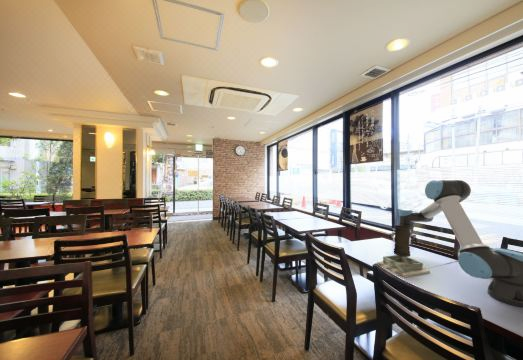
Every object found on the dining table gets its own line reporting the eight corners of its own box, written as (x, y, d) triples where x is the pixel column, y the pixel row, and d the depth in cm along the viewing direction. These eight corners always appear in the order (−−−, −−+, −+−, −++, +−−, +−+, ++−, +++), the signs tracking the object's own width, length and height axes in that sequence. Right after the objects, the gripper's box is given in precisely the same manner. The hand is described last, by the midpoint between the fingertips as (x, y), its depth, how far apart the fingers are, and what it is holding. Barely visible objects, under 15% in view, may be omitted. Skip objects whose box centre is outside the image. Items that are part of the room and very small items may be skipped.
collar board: (429, 272, 129) (429, 264, 129) (404, 277, 123) (404, 268, 123) (399, 260, 148) (400, 252, 148) (377, 263, 143) (377, 255, 143)
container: (413, 257, 131) (413, 229, 130) (396, 256, 133) (397, 228, 132) (406, 252, 140) (407, 225, 139) (391, 251, 141) (392, 224, 141)
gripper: (422, 240, 144) (422, 250, 126) (387, 235, 156) (382, 243, 138) (422, 229, 144) (422, 238, 125) (387, 225, 156) (382, 232, 138)
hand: (401, 240), depth 132 cm, fingers closed on container, 8 cm apart
